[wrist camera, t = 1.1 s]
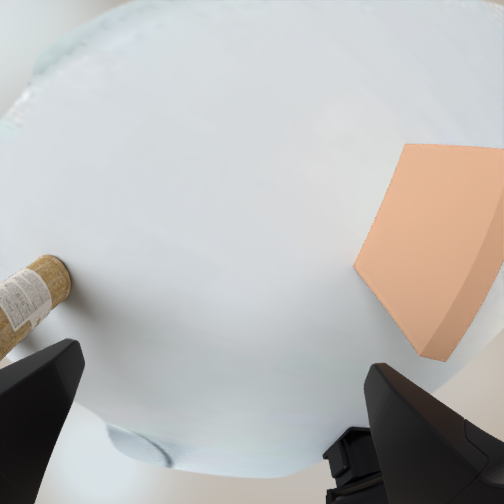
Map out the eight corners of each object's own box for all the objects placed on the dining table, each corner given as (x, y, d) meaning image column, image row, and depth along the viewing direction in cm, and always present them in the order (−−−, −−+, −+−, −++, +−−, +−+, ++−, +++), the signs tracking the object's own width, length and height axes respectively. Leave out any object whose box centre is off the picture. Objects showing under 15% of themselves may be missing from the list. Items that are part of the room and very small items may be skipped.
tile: (425, 156, 19) (534, 173, 8) (373, 274, 22) (445, 361, 11) (404, 143, 18) (513, 150, 8) (352, 266, 22) (419, 356, 11)
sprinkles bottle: (52, 305, 23) (-34, 394, 10) (29, 263, 22) (-71, 336, 9) (81, 290, 22) (-14, 391, 10) (56, 244, 21) (-59, 321, 8)
